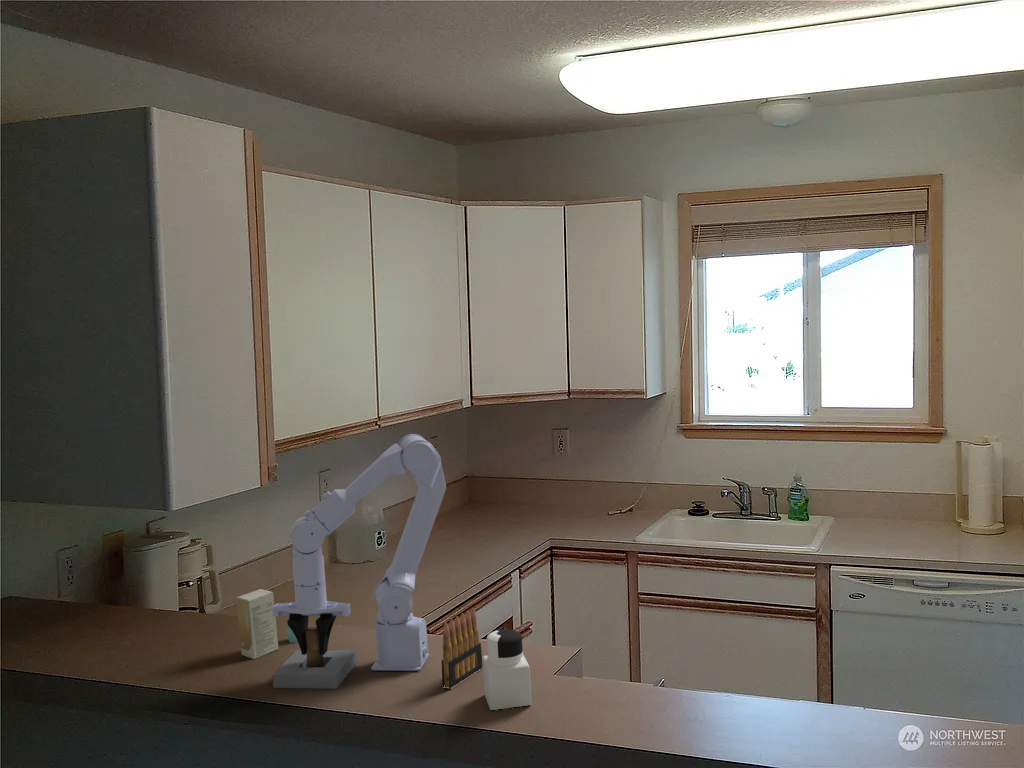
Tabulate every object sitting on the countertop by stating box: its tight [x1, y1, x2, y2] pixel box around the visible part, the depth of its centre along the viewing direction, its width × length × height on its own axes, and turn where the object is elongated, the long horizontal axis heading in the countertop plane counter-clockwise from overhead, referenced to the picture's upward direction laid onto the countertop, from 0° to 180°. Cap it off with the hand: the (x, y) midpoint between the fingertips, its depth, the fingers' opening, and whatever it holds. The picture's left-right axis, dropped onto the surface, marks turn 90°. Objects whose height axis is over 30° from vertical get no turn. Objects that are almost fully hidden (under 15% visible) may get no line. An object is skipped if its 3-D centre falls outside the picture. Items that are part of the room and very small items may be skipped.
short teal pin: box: [286, 624, 298, 644], centre depth 199 cm, size 3×3×4 cm
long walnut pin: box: [305, 625, 324, 667], centre depth 179 cm, size 3×3×7 cm
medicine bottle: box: [482, 628, 532, 711], centre depth 163 cm, size 7×7×12 cm
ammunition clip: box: [441, 607, 483, 688], centre depth 174 cm, size 11×2×12 cm, turn 149°
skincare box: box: [235, 588, 279, 660], centre depth 192 cm, size 6×4×12 cm
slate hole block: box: [272, 649, 358, 690], centre depth 179 cm, size 12×12×2 cm
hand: (314, 652), depth 179 cm, fingers closed on long walnut pin, 3 cm apart
